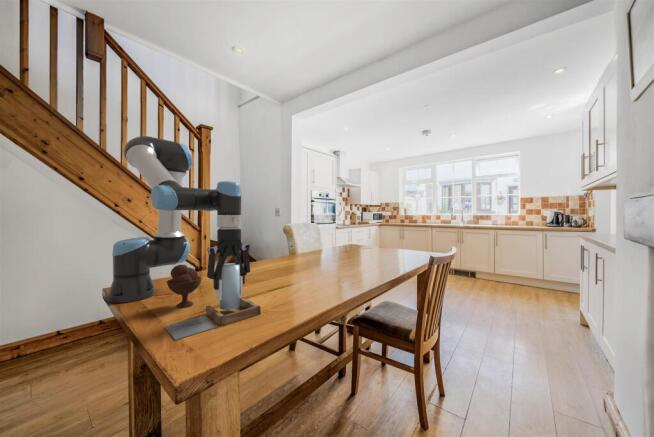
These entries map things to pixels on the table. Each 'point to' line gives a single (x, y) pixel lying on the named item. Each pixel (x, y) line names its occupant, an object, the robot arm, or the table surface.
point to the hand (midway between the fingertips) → (229, 296)
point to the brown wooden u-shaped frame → (222, 319)
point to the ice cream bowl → (183, 283)
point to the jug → (230, 286)
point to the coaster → (190, 327)
